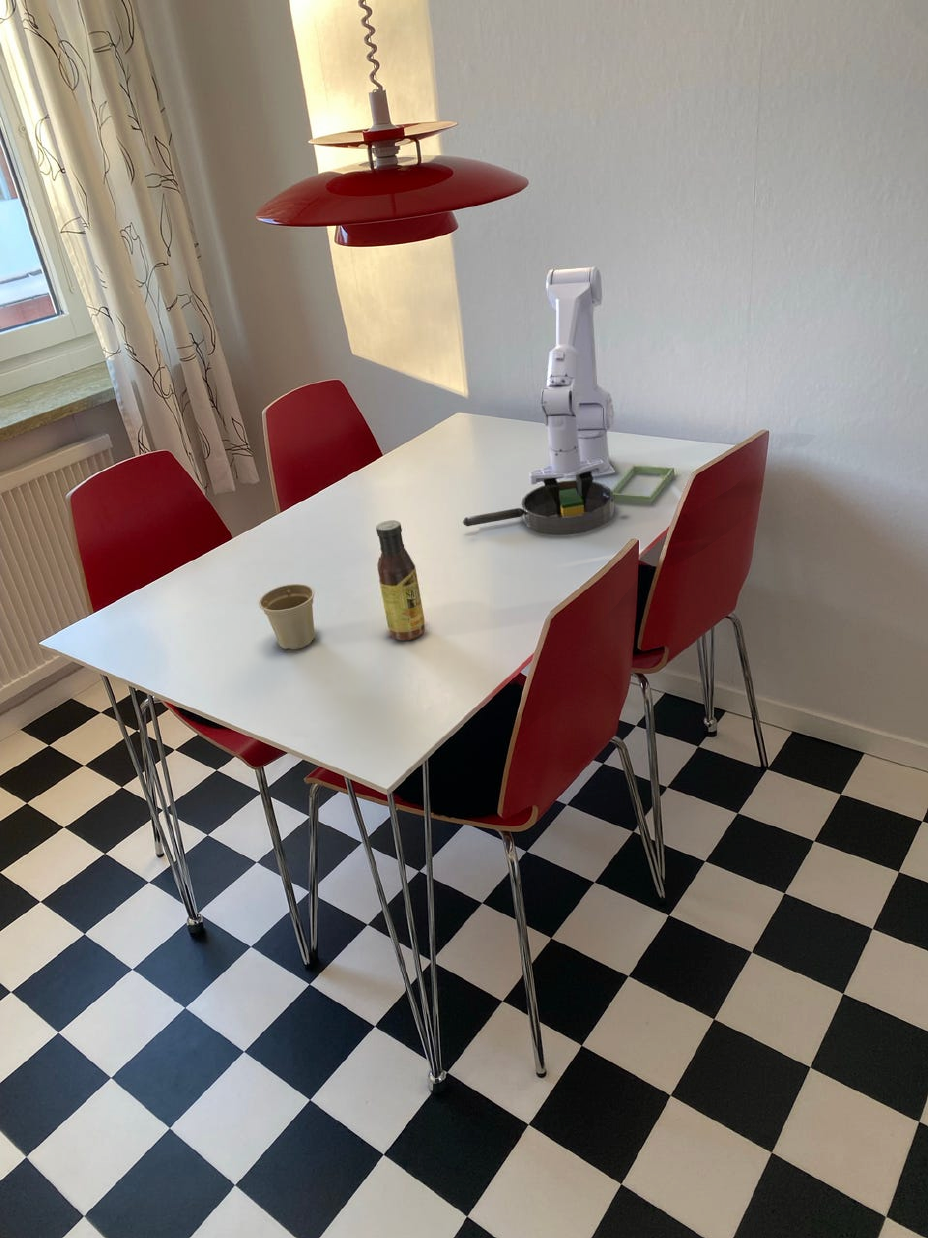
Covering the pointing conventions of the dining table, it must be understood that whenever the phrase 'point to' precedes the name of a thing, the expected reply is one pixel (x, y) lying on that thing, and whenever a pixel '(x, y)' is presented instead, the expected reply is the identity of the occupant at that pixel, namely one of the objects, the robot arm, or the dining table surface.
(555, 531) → the pan
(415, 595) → the sauce bottle
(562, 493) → the sponge
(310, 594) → the flower pot
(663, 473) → the sponge tray
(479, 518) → the pan handle
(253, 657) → the dining table surface
